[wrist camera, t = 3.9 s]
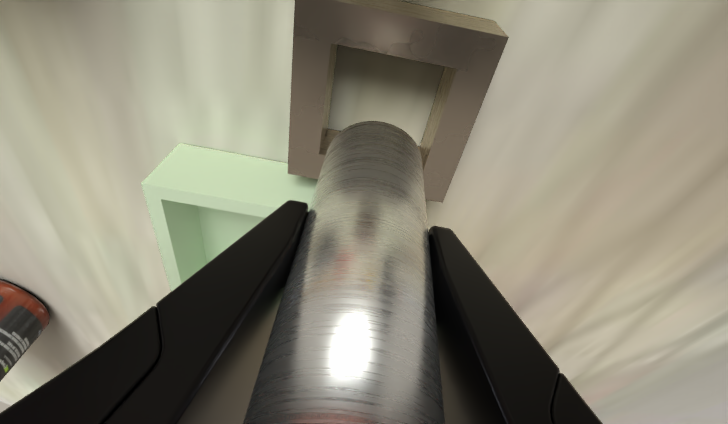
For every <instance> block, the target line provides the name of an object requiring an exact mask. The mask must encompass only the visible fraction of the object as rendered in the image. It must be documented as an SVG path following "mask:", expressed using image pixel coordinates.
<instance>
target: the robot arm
mask: <svg viewBox="0 0 728 424" xmlns="http://www.w3.org/2000/svg"><path fill="white" fill-rule="evenodd" d="M307 215H308V204H307V203H305V202H300V201H294V200H288V201H287V202H285V203H284V204H283V205H281V206H280V207H279V208H278V209H276V210H275V211H274V212H272V213H271V214H270V215H269V216H267V217H266V218H265V219H264V220H262V221H261V222H260V223H258V224H257V225H256V226H255V227H253V228H252V229H251V230H249V231H248V232H247V233H246V234H244V235H243V236H242V237H241V238H239V239H238V240H237V241H235V242H234V243H233V244H232V245H230V246H229V247H228V248H227V249H225V250H224V251H223V252H221V253H220V254H219V255H218V256H216V257H215V258H214V259H212V260H211V261H210V262H209V263H207V264H206V265H205V266H204V267H202V268H201V269H200V270H198V271H197V272H196V273H195V274H193V275H192V276H191V277H189V278H188V279H187V280H186V281H184V282H183V283H182V284H181V285H179V286H178V287H177V288H175V289H174V290H173V291H172V292H170V293H169V294H168V295H167V296H165V297H164V298H163V299H161V300H160V301H159V302H158V303H157V304H156V306H157V308H156V307H155V306H153V307H151V308H150V309H148V310H147V311H146V312H144V313H143V314H142V315H141V316H139V317H138V318H137V319H136V320H134V321H133V322H132V323H130V324H129V325H128V326H126V327H125V328H124V329H122V330H121V331H120V332H118V333H117V334H116V335H114V336H113V337H112V338H110V339H109V340H108V341H106V342H105V343H104V344H102V345H101V346H100V347H98V348H97V349H95V350H94V351H92V352H91V353H89V354H88V355H86V356H85V357H84V358H82V359H81V360H79V361H78V362H76V363H75V364H73V365H72V366H70V367H69V368H68V369H66V370H65V371H63V372H62V373H60V374H59V375H57V376H56V377H54V378H53V379H51V380H50V381H48V382H47V383H45V384H44V385H42V386H41V387H39V388H38V389H36V390H35V391H33V392H31V393H30V394H28V395H27V396H25V397H24V398H22V399H21V400H19V401H18V402H16V403H15V404H13V405H12V406H10V407H9V408H7V409H6V410H4V411H3V412H1V413H0V424H243V421H244V418H245V415H246V412H247V408H248V405H249V402H250V399H251V395H252V392H253V389H254V386H255V382H256V379H257V376H258V373H259V369H260V366H261V363H262V360H263V357H264V353H265V350H266V347H267V344H268V340H269V337H270V334H271V331H272V327H273V324H274V321H275V318H276V314H277V311H278V308H279V305H280V301H281V298H282V295H283V292H284V288H285V285H286V282H287V279H288V276H289V272H290V269H291V266H292V263H293V260H294V257H295V253H296V250H297V247H298V244H299V240H300V237H301V234H302V231H303V227H304V224H305V221H306V218H307ZM428 236H429V248H430V259H431V270H432V282H433V293H434V304H435V316H436V327H437V339H438V350H439V361H440V373H441V384H442V395H443V407H444V418H445V424H602V422H601V421H600V420H599V419H598V417H597V416H596V415H595V414H594V412H593V411H592V410H591V409H590V407H589V406H588V405H587V404H586V402H585V401H584V400H583V399H582V397H581V396H580V395H579V394H578V392H577V391H576V390H575V388H574V387H573V386H572V385H571V383H570V382H569V381H568V379H567V378H566V377H565V376H564V374H562V373H559V368H558V367H557V365H556V364H555V363H554V362H553V360H552V359H551V358H550V356H549V355H548V354H547V353H546V351H545V350H544V349H543V347H542V346H541V345H540V344H539V342H538V341H537V340H536V338H535V337H534V336H533V334H532V333H531V332H530V331H529V329H528V328H527V327H526V325H525V324H524V323H523V322H522V320H521V319H520V318H519V316H518V315H517V314H516V312H515V311H514V310H513V309H512V307H511V306H510V305H509V303H508V302H507V301H506V300H505V298H504V297H503V296H502V294H501V293H500V292H499V291H498V289H497V288H496V287H495V285H494V284H493V283H492V281H491V280H490V279H489V278H488V276H487V275H486V274H485V272H484V271H483V270H482V269H481V267H480V266H479V265H478V263H477V262H476V261H475V259H474V258H473V257H472V256H471V254H470V253H469V252H468V250H467V249H466V248H465V247H464V245H463V244H462V243H461V241H460V240H459V239H458V238H457V236H456V235H455V234H454V232H453V231H452V230H451V229H448V228H443V227H438V226H433V227H431V228H430V230H429V232H428Z"/></svg>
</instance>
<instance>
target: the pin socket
mask: <svg viewBox="0 0 728 424" xmlns="http://www.w3.org/2000/svg"><path fill="white" fill-rule="evenodd" d="M508 38H509V37H508V36H507V35H506V34H505V33H504V31H503V30H502V29H501V28H500V27H499V26H498V25H497V23H496V22H495V21H492V20H488V19H483V18H478V17H473V16H469V15H464V14H459V13H455V12H450V11H445V10H441V9H436V8H431V7H427V6H422V5H417V4H412V3H408V2H403V1H398V0H295V12H294V36H293V59H292V82H291V106H290V129H289V153H288V174H292V175H297V176H302V177H308V178H313V179H318V178H319V175H320V172H321V169H322V165H323V162H324V159H325V156H326V152H327V150H328V147H329V145H330V143H331V141H332V140H333V139H334V137H335V136H336V135H337V134H338V133H339V132H341V131H337V130H331V129H328V122H329V114H330V105H331V97H332V88H333V80H334V71H335V63H336V54H337V46H338V45H343V46H348V47H353V48H357V49H362V50H367V51H372V52H377V53H382V54H387V55H392V56H396V57H401V58H406V59H411V60H416V61H421V62H426V63H431V64H435V65H440V66H445V68H444V71H443V74H442V77H441V81H440V84H439V87H438V90H437V93H436V97H435V100H434V103H433V106H432V110H431V113H430V116H429V119H428V123H427V126H426V129H425V132H424V136H423V139H422V142H421V145H420V147H419V146H418V148H419V151H420V153H421V158H422V168H423V180H424V191H425V199H426V200H431V201H437V202H442V203H443V200H444V198H445V195H446V193H447V190H448V188H449V185H450V183H451V180H452V178H453V175H454V173H455V170H456V168H457V165H458V163H459V160H460V158H461V155H462V153H463V150H464V148H465V145H466V143H467V140H468V138H469V135H470V133H471V130H472V128H473V125H474V123H475V120H476V118H477V115H478V113H479V110H480V108H481V105H482V103H483V100H484V98H485V95H486V93H487V90H488V88H489V85H490V83H491V80H492V78H493V75H494V73H495V70H496V68H497V65H498V63H499V60H500V58H501V55H502V53H503V50H504V48H505V45H506V43H507V40H508Z"/></svg>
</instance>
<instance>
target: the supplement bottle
mask: <svg viewBox="0 0 728 424" xmlns="http://www.w3.org/2000/svg"><path fill="white" fill-rule="evenodd" d="M49 319H50V317H49V313H48V311H47V309H46V308H45V306H44V305H43V304H42V303H41V302H40V301H39V300H38V299H37V298H35V297H34V296H33V295H31V294H29V293H28V292H26V291H25V290H23V289H21V288H19V287H17V286H16V285H14V284H12V283H9V282H7V281H3V280H0V381H1V380H2V379H3V378H4V376H5V375H6V374H7V373H8V372H9V371H10V369H11V368H12V367H13V366H14V365H15V363H16V362H17V361H18V360H19V359H20V358H21V356H22V355H23V354H24V353H25V352H26V350H27V349H28V348H29V347H30V346H31V344H32V343H33V342H34V341H35V340H36V339H37V338H38V336H39V335H40V334H41V332H42V331H43V330H44V329H45V327H46V326H47V325H48V323H49Z"/></svg>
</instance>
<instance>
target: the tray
mask: <svg viewBox="0 0 728 424" xmlns="http://www.w3.org/2000/svg"><path fill="white" fill-rule="evenodd" d="M317 182H318V179H313V178H308V177H302V176H297V175H292V174H288V163H283V162H278V161H272V160H267V159H262V158H256V157H251V156H246V155H240V154H235V153H230V152H224V151H219V150H214V149H208V148H203V147H198V146H192V145H187V144H182V143H179V144H178V145H177V146H176V147H175V149H174V150H173V151H172V152H171V153H170V154H169V155H168V156H167V157H166V158H165V159H164V160H163V161H162V162H161V163H160V164H159V165H158V166H157V167H156V168H155V169H154V170H153V171H152V172H151V173H150V175H149V176H148V177H147V178H146V179H145V180H144V181H143V182H142V183H141V185H142V189H143V192H144V196H145V199H146V203H147V207H148V210H149V214H150V217H151V221H152V225H153V228H154V232H155V235H156V239H157V243H158V246H159V250H160V253H161V257H162V261H163V264H164V268H165V271H166V275H167V279H168V282H169V286H170V290H171V292H172V291H173V290H174V289H175V288H177V287H178V286H179V285H181V284H182V283H183V282H184V281H186V280H187V279H188V278H189V277H191V276H192V275H193V274H195V273H196V272H197V271H198V270H200V269H201V268H202V267H204V266H205V265H206V264H207V263H209V262H210V261H211V260H212V259H214V258H215V257H216V256H218V255H219V254H220V253H221V252H223V251H224V250H225V249H227V248H228V247H229V246H230V245H232V244H233V243H234V242H235V241H237V240H238V239H239V238H241V237H242V236H243V235H244V234H246V233H247V232H248V231H249V230H251V229H252V228H253V227H255V226H256V225H257V224H258V223H260V222H261V221H262V220H264V219H265V218H266V217H267V216H269V215H270V214H271V213H272V212H274V211H275V210H276V209H278V208H279V207H280V206H281V205H283V204H284V203H285V202H287V201H288V200H294V201H300V202H305V203H307V204H308V211H309V207H310V204H311V201H312V198H313V195H314V191H315V188H316V185H317Z"/></svg>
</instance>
